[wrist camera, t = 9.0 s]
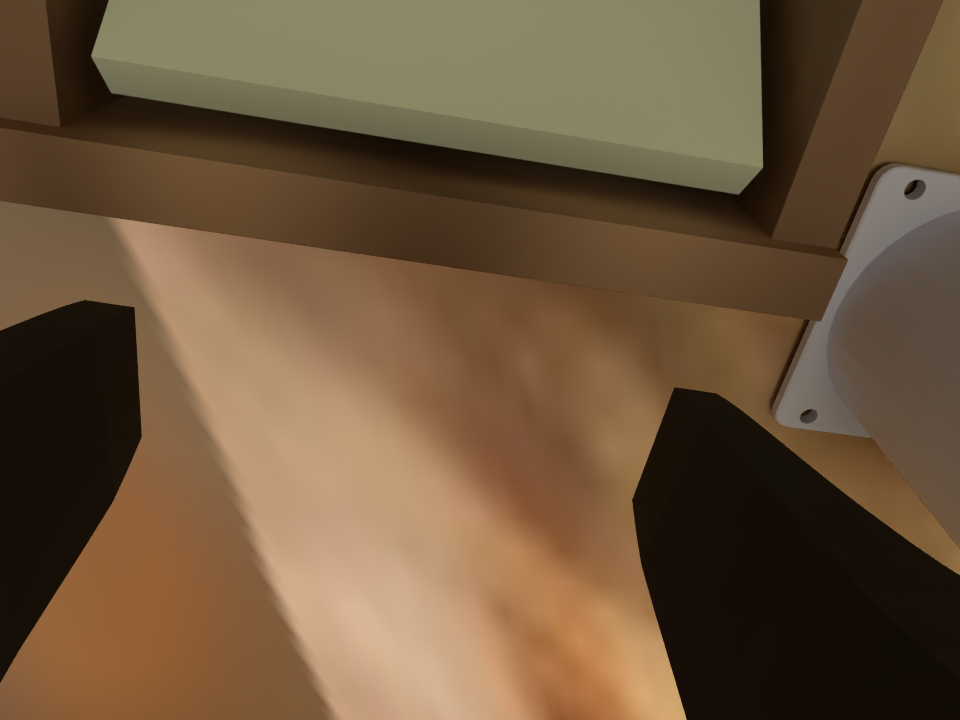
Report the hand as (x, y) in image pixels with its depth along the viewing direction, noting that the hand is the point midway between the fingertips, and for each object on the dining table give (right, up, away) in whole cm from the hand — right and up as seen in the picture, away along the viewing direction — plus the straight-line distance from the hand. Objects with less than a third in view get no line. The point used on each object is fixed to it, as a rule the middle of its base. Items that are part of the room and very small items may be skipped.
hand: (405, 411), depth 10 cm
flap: (+1, +8, +4) cm, 9 cm away
